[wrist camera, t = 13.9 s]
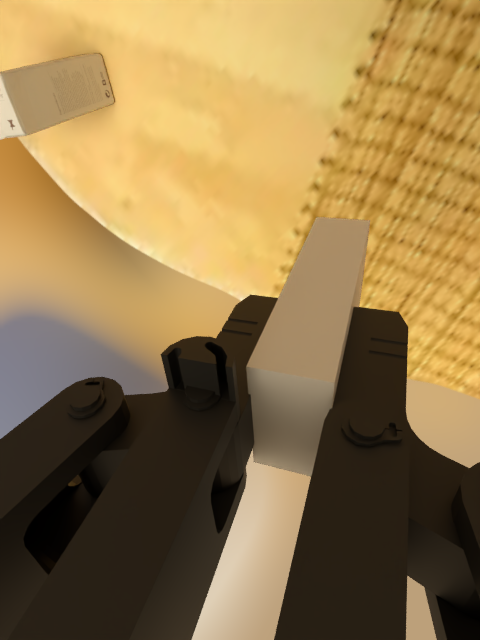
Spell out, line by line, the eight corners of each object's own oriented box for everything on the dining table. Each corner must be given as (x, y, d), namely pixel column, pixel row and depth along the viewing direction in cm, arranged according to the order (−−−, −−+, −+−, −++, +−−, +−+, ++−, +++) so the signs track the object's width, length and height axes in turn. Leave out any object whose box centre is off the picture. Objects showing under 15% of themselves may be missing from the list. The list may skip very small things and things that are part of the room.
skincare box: (101, 50, 37) (-1, 66, 28) (117, 105, 40) (28, 136, 30) (49, 61, 39) (-63, 79, 30) (67, 112, 42) (-31, 143, 33)
